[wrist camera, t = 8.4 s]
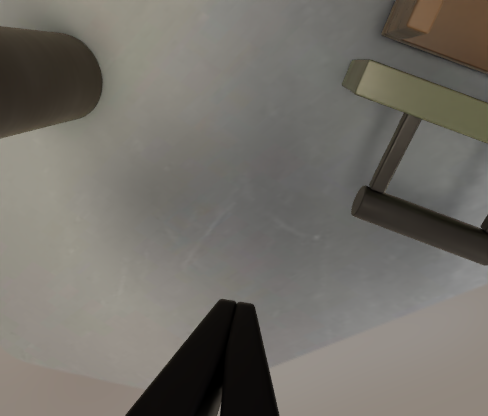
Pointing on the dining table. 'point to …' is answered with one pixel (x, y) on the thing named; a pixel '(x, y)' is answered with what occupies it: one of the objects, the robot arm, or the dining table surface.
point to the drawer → (425, 115)
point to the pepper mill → (44, 80)
